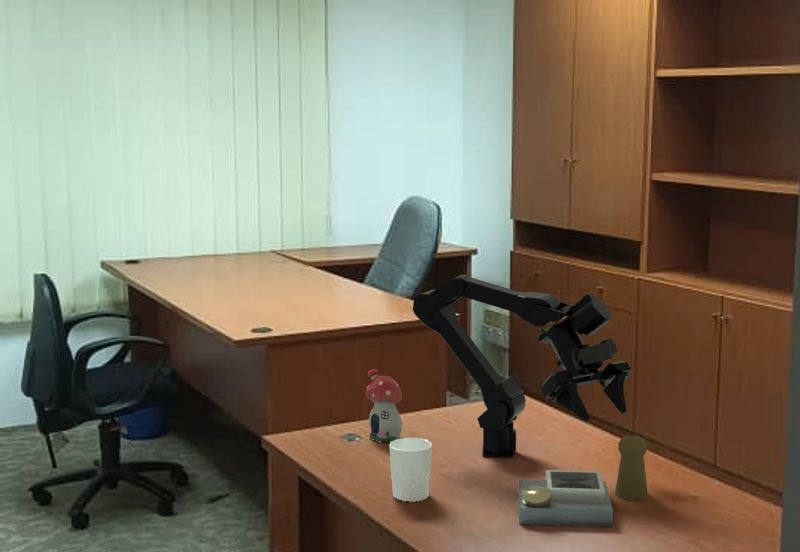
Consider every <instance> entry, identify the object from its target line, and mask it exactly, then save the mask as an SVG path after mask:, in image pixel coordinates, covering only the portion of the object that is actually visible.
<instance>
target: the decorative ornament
mask: <svg viewBox="0 0 800 552" xmlns="http://www.w3.org/2000/svg"><path fill="white" fill-rule="evenodd" d="M367 377H368V378H369V379H370V383H369V384H368V386H367V387H366V391H365V397H366V399H369V400H370V401H372V402H373V403H374V404H373V407H372V409H371V411H370V413H369V417H368V424H369V428H370V429H369V430H370V433H369V438H370V439H371V438H372V439H374V440H377V441H381V442H389V443H391V442H390V441H394V440H397V439H400V437H401V433H402V430H403V421H402V417H401V415H400V413H399V411H398V409H397V406H396V404H398V403H399V402H401V400H402V399H403V393H402V389H401V388H400V385H399V384H398V383H397V381H395V379H393V378H392V377H391V376H388V375H379V370H378V369H376V368H373V369H370V370H368V372H367ZM372 439H371V440H372ZM374 440H373V441H374ZM377 441H376V442H377ZM381 442H380V443H381Z"/></svg>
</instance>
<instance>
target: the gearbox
mask: <svg viewBox="0 0 800 552" xmlns="http://www.w3.org/2000/svg"><path fill="white" fill-rule="evenodd" d="M517 488H518V493H517V495H518V525H535V526H536V525H540V526H541V525H542V526H569V527H570V526H571V527H572V526H573V527H574V526H575V527H599V528H601V527H602V528H607V527H608V528H612V527H613V522H614V521H613V520H614V519H613V515H614V510H613V505H612V501H611V497H610V494H609V490H608V486H607V482H606V481H603V476H602V472H601V471H597V470H594V471H593V470H569V469H568V470H566V469H565V470H564V469H561V470H560V469H559V470H558V469H545V479H520V478H519V479H518V487H517Z"/></svg>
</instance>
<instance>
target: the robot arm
mask: <svg viewBox="0 0 800 552" xmlns="http://www.w3.org/2000/svg"><path fill="white" fill-rule="evenodd" d="M462 297H463V298H465V299H466V298H467V299H469V300H473V301H475V302H479V303H482V304H485V305H489V306H493V307H496V308H499V309H503V310H505V311H509V312H510V313H512V314H514V315H516V317H518V318H519V319H521V320H522V321H523V322H524V321H525V322H526V323H528V324H530V325H532V326H535V327H545V326H546V325H548V324H550V323H553V322H554V323H553V324H552V325H551V326H549V327H548V328H547V329H545V328H541V329H540V334H539V335H538V338H537V341H538V342H539V343H544V344H551V346H552V348H553V349H554V352H555V354H556V356H557V357H558V360H557V362H556V364H557V366H558V367H559V368H560V367H562V368H563V369H564V370H558V371H555V372H554V371H553V372H552V373H551V374H549V376H548V377H547V378H546V379H545V380H544V382H543V383H542V385H541V393H542V394H543V397H544V398H545V400H549V399H551V401H552V402H557V403H558V404H560V405H562V406H563V407H565V409H568V410H569V411H570V412H572V413H573V414H575V415H576V416H577V417H579V418H580V419H581V420H583V421H584V422H585V423H587V422H588V421H590V416H589V415H590V414H589V413H588V410H587V408H586V406H585V405H584V403H583V400H582V399H581V397H580V395H579V392H578V386H581V385H585V384H586V385H587V384H592V383H597V382H599V384H600V386H602V387H603V390H602V391H603V392H604V394H605V395H606V396H607V398H608V399H609V400H610V401H611V403H612V405H614V407H616V409H617V411H619V412H620V414H622V415H625V414H626V413H627V405H626V398H625V391H624V390H625V389H624V385H625V384H624V383H625V381H626V379H628V378H629V375H630V373H632V371H633V370H632V368H631V366H630V365H629V363H628V362H627V361H625V360H619V361H614V362H613V361H612V362H609V363H608V364H607V365H606V366H605V367H604V369H602V370H599V368H601V367H603V366H604V363H603V362H604V361H608V360H613V359H614V355H616V354H617V353H618V348H617V345H616V343H615V341H614V340H613V339H612V338H607V339H604V340H601V341H600V342H599V343H597V344H592V345H591V344H589V343H586V344H585V343H584V341H583V339H582V337H581V336H583V335H585V336H588V337H591V336H592V335H594V333H595V332H597V331H598V330H600V329H601V328H603V326H605V325H606V324H607V323H608V322H610V321H611V320H613V315H612V312H611V310H610V308H609V307H608V305H607V304H606V303H605V302H603V301H602V300H601V299H600V298H598V297H596V296H595V295H594V294H593V293H592V292H589V293H588V292H587V293H586V294H585V295H584V296H583V297H582V298H581V299H580V300H579V301H578V302H577V303H575V304H569V303H566V302H563V301H560V300H559V299H558V297H557V296H555V294H551V293H546V292H545V293H544V292H535V291H534V292H532V291H529V292H527V291H525V292H524V291H518V290H514V289H511V288H508V287H504V286H501V285H498V284H494V283H490V282H488V281H485V280H481V279H477V278H474V277H471V276H469V275H468V274H461V275H458V276H455V277H453V278H451V280H450V281H448V282H446V283H445V284H444V285H441V286H440V287H438V288H437V289H431V290H429V291H427V292H423V293H421V294H418V295H417V296H416V297H415V298H414V300H413V303H412V305H413V306H412V312H413V314H414V315H415V317H416V318H417V319H418V320H419V321H420V322H421V323H422V324H424V325H425V326H426V327H427V329H428V328H429V329H430V330H432V331H434V332H435V333H437V334H438V335H440V336H441V338H442V340H443V341H444V342H445V343H446V344H447V346H448V348H449V349H450V350H451V352H452V353H453V354H454V355H455V356H456V358H457V360H458V361H459V362H460V363H461V365H462V366H463V367H464V369H465V370H466V372H468V374H469V375H470V376H471V378H472V379H473V381H474V382H475V383H476V384H477V386H478V388H479V390H480V392H481V397H482V401H483V404H484V406H485V407H486V410H485V411H484V412H482V414H481V415H479V416H478V417H477V422H478V425H479V427H480V429H482V430H483V431H482V450H481V451H482V455H481V456H482V457H491V458H492V457H494V458H495V457H496V458H499V457H500V458H514V457H515V454H514V453H515V452H516V451H517V429H515V428H514V421H516V420H517V418H518V416H519V414H521V413H522V412H523V411H525V407H526V401H527V400H526V396H525V395H524V392H525V390H524V389H523V388H521V387H520V386H519V384H518V383H517V381H516V379H515V378H514V377H513V376H508V378H505V377H503V376H501V375H500V374H499V373H498V372H497V371H496V370H495V368H494V367H493V366H492V364H491V363H490V362H489V360H488V359H487V357H486V356H485V355H484V354H483V352H482V351H481V350H480V349H479V347H478V346H477V345H476V343H475V341H473V339H472V337H470V336H469V334H468V332H467V331H466V330H465V329H464V328H463V326H462V324H461V323H460V322H459V321H458V317H457V313H456V308H455V306H454V304H453V303H455V302H457V301H458V300H460V299H461V298H462ZM561 320H562V321H561ZM580 335H581V336H580Z"/></svg>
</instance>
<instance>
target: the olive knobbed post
mask: <svg viewBox="0 0 800 552" xmlns="http://www.w3.org/2000/svg"><path fill="white" fill-rule="evenodd" d="M647 444H648V443H647V441H646V440H645V439H644V438H642V437H640V436H637V435H626V436H623V437H622V438H620V440H619V442H618V447H617V448H618V452H619V453H620V458H619V467H618V471H617V478H616V483H615V490H614V494H615V496H616V497H618V498H620V499H621V500H622V499H623V500H627V501H641V500H645V499H647V498H648V496H649V495H648V494H649V492H648V485H647V483H648V482H647V474H646V473H647V472H646V465H645V464H646V463H645V457H644V456H645V455H646V453H647V451H648V445H647Z"/></svg>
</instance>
